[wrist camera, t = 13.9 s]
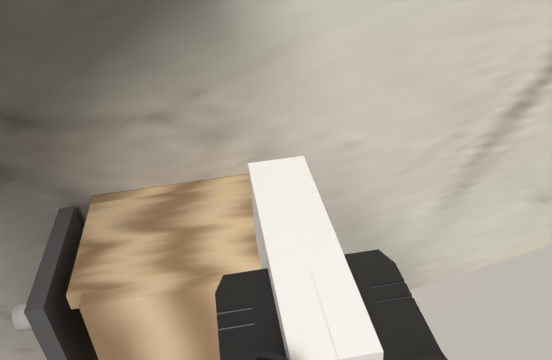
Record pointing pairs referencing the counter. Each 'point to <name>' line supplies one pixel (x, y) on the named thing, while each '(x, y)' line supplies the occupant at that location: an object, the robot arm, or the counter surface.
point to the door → (57, 297)
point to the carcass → (161, 267)
